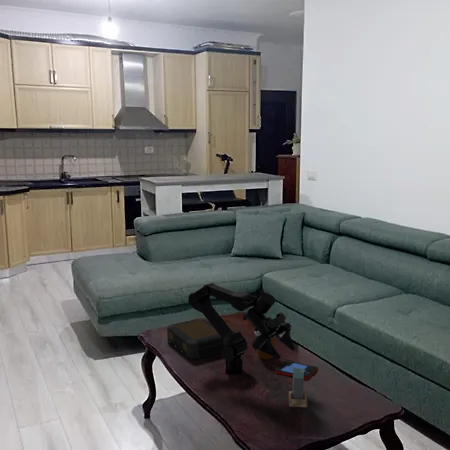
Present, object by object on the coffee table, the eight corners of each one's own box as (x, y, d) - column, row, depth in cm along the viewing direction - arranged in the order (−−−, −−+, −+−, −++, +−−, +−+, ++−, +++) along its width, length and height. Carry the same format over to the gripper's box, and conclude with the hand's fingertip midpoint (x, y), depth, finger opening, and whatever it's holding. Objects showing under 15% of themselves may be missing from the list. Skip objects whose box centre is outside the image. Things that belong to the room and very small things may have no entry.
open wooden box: (289, 408, 172) (289, 400, 172) (288, 399, 178) (288, 391, 178) (307, 408, 172) (307, 400, 171) (305, 399, 178) (305, 391, 177)
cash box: (231, 350, 220) (231, 333, 219) (191, 361, 210) (190, 343, 208) (204, 331, 241) (204, 316, 240) (166, 340, 231) (165, 325, 229)
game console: (318, 369, 201) (318, 364, 201) (306, 383, 191) (306, 377, 190) (285, 362, 209) (285, 357, 208) (272, 374, 198) (272, 369, 197)
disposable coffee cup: (251, 359, 211) (251, 332, 208) (258, 350, 219) (258, 324, 217) (273, 362, 207) (273, 335, 205) (279, 353, 216) (279, 327, 214)
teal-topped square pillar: (293, 404, 173) (293, 372, 171) (292, 399, 177) (293, 368, 175) (303, 405, 173) (303, 373, 171) (302, 400, 176) (302, 368, 174)
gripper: (255, 314, 176) (283, 349, 170) (285, 301, 190) (312, 333, 183) (240, 333, 182) (267, 367, 176) (270, 319, 196) (297, 350, 189)
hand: (287, 354), depth 181 cm, fingers open, 9 cm apart
